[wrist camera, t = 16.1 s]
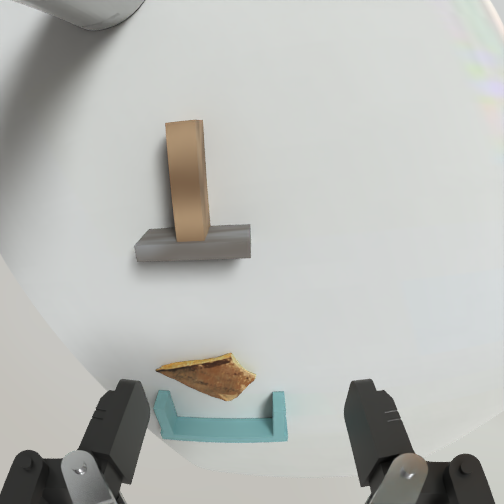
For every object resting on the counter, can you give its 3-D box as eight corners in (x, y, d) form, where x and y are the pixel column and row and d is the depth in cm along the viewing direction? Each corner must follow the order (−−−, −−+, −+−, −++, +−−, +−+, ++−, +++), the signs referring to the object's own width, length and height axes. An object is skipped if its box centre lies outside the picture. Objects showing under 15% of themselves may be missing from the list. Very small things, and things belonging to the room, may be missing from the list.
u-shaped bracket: (155, 390, 39) (149, 408, 36) (287, 391, 39) (289, 410, 36) (167, 421, 42) (162, 438, 39) (285, 422, 42) (287, 441, 39)
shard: (157, 363, 38) (154, 372, 36) (182, 324, 35) (179, 334, 34) (230, 396, 40) (229, 405, 38) (261, 363, 37) (261, 373, 36)
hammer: (137, 127, 26) (119, 129, 22) (245, 117, 26) (244, 116, 22) (151, 243, 31) (137, 261, 27) (250, 239, 31) (250, 258, 26)
